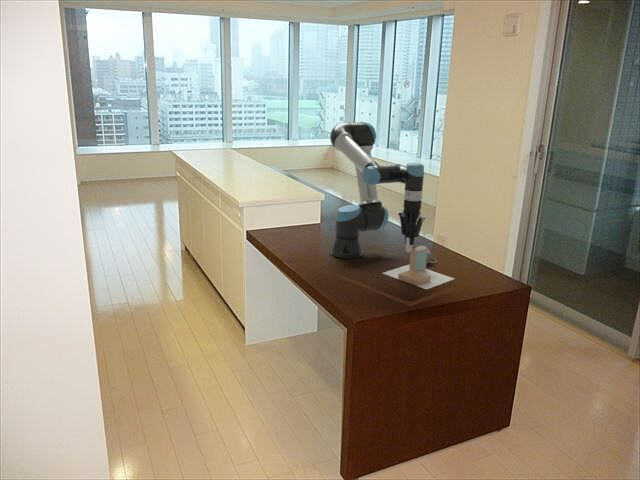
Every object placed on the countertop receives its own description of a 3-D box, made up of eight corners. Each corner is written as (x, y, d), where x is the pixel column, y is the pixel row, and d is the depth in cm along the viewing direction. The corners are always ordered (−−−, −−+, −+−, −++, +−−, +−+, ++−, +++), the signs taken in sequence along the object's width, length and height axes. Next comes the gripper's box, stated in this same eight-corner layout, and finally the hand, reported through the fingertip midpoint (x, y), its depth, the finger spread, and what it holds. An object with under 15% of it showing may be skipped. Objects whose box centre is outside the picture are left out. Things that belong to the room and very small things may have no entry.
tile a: (398, 273, 223) (417, 280, 216) (412, 269, 229) (430, 275, 222) (398, 279, 224) (416, 286, 217) (411, 274, 230) (430, 281, 223)
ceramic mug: (414, 265, 245) (416, 250, 243) (412, 260, 253) (414, 244, 250) (437, 267, 245) (439, 251, 242) (434, 261, 252) (436, 246, 250)
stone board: (381, 275, 231) (381, 273, 231) (410, 266, 244) (410, 263, 244) (426, 292, 214) (426, 289, 214) (454, 281, 227) (455, 278, 227)
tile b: (408, 272, 232) (410, 250, 229) (421, 268, 238) (423, 247, 235) (413, 274, 231) (414, 252, 228) (425, 269, 236) (427, 248, 233)
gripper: (395, 197, 231) (392, 249, 238) (419, 203, 222) (415, 256, 229) (406, 195, 236) (402, 246, 243) (430, 201, 227) (425, 253, 234)
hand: (408, 251), depth 236 cm, fingers closed
